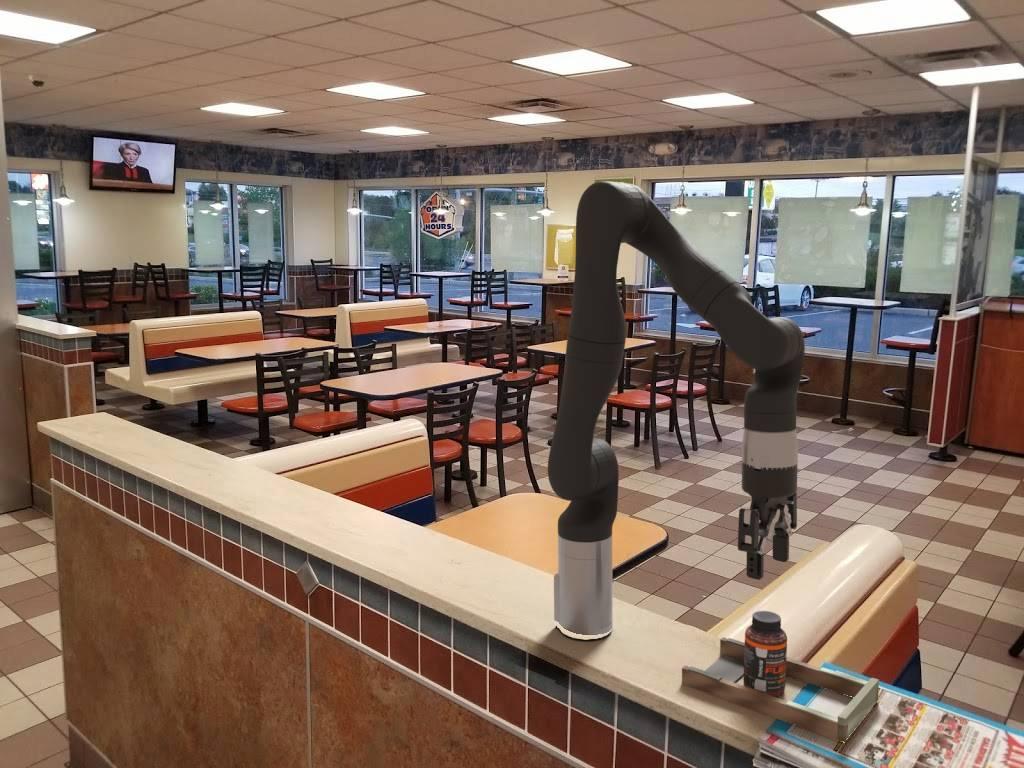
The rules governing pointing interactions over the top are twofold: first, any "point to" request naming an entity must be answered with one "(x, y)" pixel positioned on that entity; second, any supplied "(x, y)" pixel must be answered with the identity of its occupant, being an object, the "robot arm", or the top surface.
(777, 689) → the supplement bottle
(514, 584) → the top surface
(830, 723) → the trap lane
